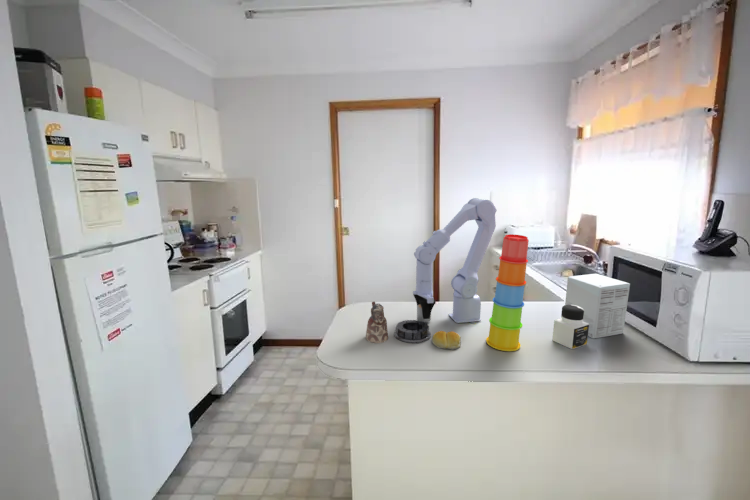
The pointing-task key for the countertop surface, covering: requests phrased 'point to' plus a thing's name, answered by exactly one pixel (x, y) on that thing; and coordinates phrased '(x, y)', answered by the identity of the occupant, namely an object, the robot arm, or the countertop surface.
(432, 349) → the countertop surface
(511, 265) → the stacking cups
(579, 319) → the medicine bottle
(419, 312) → the cup
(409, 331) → the toothed ring bowl
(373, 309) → the figurine
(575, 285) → the supplement box
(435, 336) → the bread roll
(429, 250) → the robot arm
